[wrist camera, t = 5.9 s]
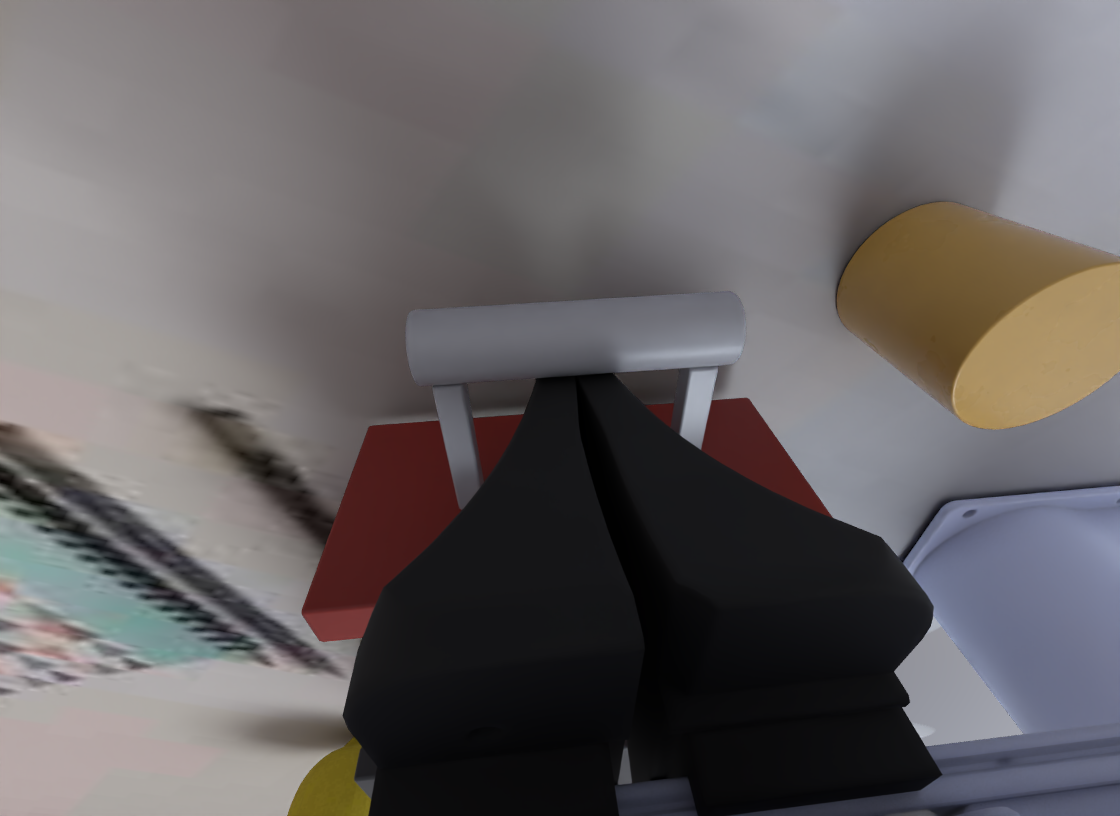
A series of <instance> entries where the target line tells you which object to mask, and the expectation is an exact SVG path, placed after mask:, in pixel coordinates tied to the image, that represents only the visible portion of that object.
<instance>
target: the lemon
mask: <svg viewBox="0 0 1120 816" xmlns="http://www.w3.org/2000/svg"><path fill="white" fill-rule="evenodd" d="M361 747H362V746H361V745H360V744H359V742H358V741H357V740H356V739H355V737H353V738H352V739H351V740H350V741H349V742H348V743H347V744H346V745H345V746H344V747H342V748H340V749H338V750H335V751H333V752H331V753H330V754H328V755H326V756H325V757H324V758H323V759H322V760H320V761H319V762H318V763H317V764H316V765H315V766H314V767H313V768H312V769H311V770H310V771H309V773H308V774H307V775H306V777H305V778H304V780H303V781H302V783H301V784H300V786H299V788H298V790H297V792H296V794H295V797H294V799H293V801H292V804H291V806H290V809H289V812H288V815H287V816H368V814H369V809H370V803H371V799H370V798H369V797H368V795H367V794H366V793H365V792H364V791H363V790H362V789H361V788H360V787H359V785H358V784H357V783H356V782H355V781H354V776H355V771H356V766H357V761H358V756H359V752H360V749H361Z"/></svg>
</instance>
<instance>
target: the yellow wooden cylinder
mask: <svg viewBox="0 0 1120 816" xmlns="http://www.w3.org/2000/svg"><path fill="white" fill-rule="evenodd" d="M837 309H838V314H839V317H840V319H841V321H842V323H843V324H844V326H845V327H846V328H847V329H848V330H849V331H851V332H852V333H853V334H854V335H856V336H857V337H858V338H859V339H861V340H862V341H863V342H864V343H865V344H867V345H868V346H869V347H870V348H872V349H873V350H874V351H875V352H877V353H878V354H879V355H880V356H882V357H883V358H884V359H885V360H887V361H888V362H889V363H890V364H892V365H893V366H894V367H895V368H897V369H898V370H899V371H900V372H902V373H903V374H904V375H905V376H907V377H908V378H909V379H910V380H911V381H913V382H914V383H915V384H916V385H918V386H919V387H920V388H921V389H923V390H924V391H925V392H926V393H928V394H929V395H930V396H931V397H933V398H934V399H935V400H936V401H938V402H939V403H940V404H941V405H943V406H944V407H945V408H946V409H948V410H949V411H950V412H951V413H952V414H954V415H955V416H956V417H957V418H959V419H960V420H961V421H963V422H964V423H966V424H968V425H971V426H973V427H977V428H982V429H1006V428H1013V427H1017V426H1022V425H1026V424H1029V423H1032V422H1036V421H1038V420H1041V419H1044V418H1046V417H1049V416H1051V415H1053V414H1055V413H1057V412H1060V411H1062V410H1064V409H1065V408H1067V407H1069V406H1071V405H1073V404H1075V403H1076V402H1078V401H1080V400H1081V399H1083V398H1085V397H1086V396H1088V395H1089V394H1091V393H1092V392H1094V391H1095V390H1097V389H1098V388H1099V387H1101V386H1102V385H1103V384H1105V383H1106V382H1107V381H1109V380H1110V379H1111V378H1112V377H1113V376H1114V375H1116V374H1117V373H1118V372H1119V371H1120V257H1119V256H1116V255H1113V254H1110V253H1107V252H1104V251H1101V250H1098V249H1095V248H1092V247H1089V246H1086V245H1083V244H1080V243H1077V242H1074V241H1071V240H1068V239H1065V238H1062V237H1059V236H1056V235H1053V234H1050V233H1047V232H1044V231H1041V230H1038V229H1035V228H1031V227H1028V226H1025V225H1022V224H1019V223H1016V222H1013V221H1010V220H1007V219H1004V218H1001V217H998V216H995V215H992V214H989V213H986V212H983V211H980V210H977V209H974V208H971V207H968V206H965V205H962V204H959V203H954V202H935V203H929V204H925V205H921V206H918V207H915V208H912V209H910V210H908V211H906V212H903V213H901V214H899V215H898V216H896V217H894V218H893V219H891V220H890V221H888V222H887V223H885V224H884V225H883V226H881V227H880V228H879V229H878V230H876V231H875V232H874V233H873V234H872V235H871V236H870V237H869V238H868V239H867V240H866V241H865V242H864V243H863V244H862V245H861V246H860V248H859V249H858V250H857V251H856V253H855V254H854V256H853V257H852V259H851V260H850V262H849V263H848V265H847V267H846V269H845V271H844V273H843V275H842V278H841V280H840V284H839V287H838V293H837Z"/></svg>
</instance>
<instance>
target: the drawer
mask: <svg viewBox="0 0 1120 816" xmlns="http://www.w3.org/2000/svg"><path fill="white" fill-rule="evenodd" d="M745 338H746V318H745V312H744V308H743V305H742V302H741V300H740V298H739V297H738V296H737V295H736V294H735V293H733V292H731V291H721V292H705V293H688V294H671V295H655V296H638V297H621V298H605V299H588V300H571V301H555V302H538V303H521V304H505V305H488V306H472V307H455V308H438V309H422V310H413V311H411V312H409V314H408V317H407V321H406V330H405V339H406V351H407V358H408V363H409V367H410V371H411V374H412V376H413V379H414V381H415V382H416V384H417V385H419V386H433V388H432V391H433V395H434V400H435V404H436V408H437V413H438V417H439V421H427V422H413V423H400V424H386V425H373V426H369V428H368V430H367V433H366V436H365V439H364V441H363V444H362V447H361V449H360V452H359V455H358V458H357V460H356V463H355V466H354V469H353V471H352V474H351V477H350V480H349V482H348V485H347V488H346V490H345V493H344V496H343V499H342V501H341V504H340V507H339V510H338V512H337V515H336V518H335V521H334V523H333V526H332V529H331V531H330V534H329V537H328V540H327V542H326V545H325V548H324V551H323V553H322V556H321V559H320V562H319V564H318V567H317V570H316V572H315V575H314V578H313V581H312V583H311V586H310V589H309V592H308V594H307V597H306V600H305V603H304V605H303V608H302V615H303V617H304V618H305V620H306V621H307V623H308V624H309V626H310V627H311V629H312V630H313V632H314V633H315V635H316V636H317V638H318V639H319V641H322V642H327V641H337V640H347V639H357V638H362V637H363V635H364V632H365V630H366V627H367V624H368V622H369V619H370V617H371V614H372V612H373V609H374V607H375V605H376V603H377V600H378V598H379V596H380V594H381V591H382V589H383V587H384V586H385V585H387V584H388V583H389V582H390V581H391V580H392V579H393V578H394V577H396V576H397V575H398V574H399V573H400V572H401V571H402V570H403V569H404V568H405V567H406V566H407V565H409V564H410V563H411V562H412V561H413V560H414V559H415V558H416V557H417V556H418V555H419V554H420V553H422V552H423V551H424V550H425V549H426V548H427V547H428V546H429V545H430V544H431V543H432V542H433V541H434V540H435V539H436V538H437V537H438V536H439V535H440V533H441V532H442V531H443V530H444V529H445V528H446V527H447V526H448V525H449V524H450V522H451V521H452V520H453V519H454V518H455V517H456V516H457V515H458V514H459V513H460V511H461V510H462V509H463V508H464V507H465V506H466V505H467V503H468V502H469V501H470V500H471V498H472V497H473V496H474V495H475V493H476V492H477V491H478V489H479V488H480V487H481V485H482V484H483V483H484V481H485V480H486V479H487V477H488V476H489V474H490V473H491V472H492V470H493V469H494V467H495V466H496V464H497V463H498V461H499V459H500V458H501V456H502V455H503V453H504V451H505V450H506V448H507V446H508V445H509V443H510V441H511V439H512V437H513V435H514V433H515V431H516V429H517V427H518V425H519V423H520V421H521V419H522V417H523V415H524V414H521V415H507V416H494V417H480V418H473V416H472V410H471V404H470V398H469V393H468V387H467V383H476V382H490V381H504V380H519V379H533V378H547V377H562V376H576V375H590V374H605V373H619V372H633V371H648V370H662V369H676V368H680V369H679V375H678V382H677V388H676V395H675V401H674V403H669V404H655V405H645V406H646V407H647V408H648V409H649V410H650V411H651V412H652V413H653V414H655V415H656V416H657V417H658V418H659V419H660V420H662V421H663V422H664V423H665V424H666V425H668V426H669V427H670V428H671V429H672V430H674V431H675V432H676V433H678V434H679V435H680V436H682V437H683V438H685V439H686V440H687V441H689V442H690V443H692V444H693V445H695V446H696V447H697V448H699V449H700V450H702V451H703V452H705V453H706V454H708V455H709V456H711V457H712V458H714V459H716V460H717V461H719V462H720V463H722V464H724V465H726V466H727V467H729V468H731V469H733V470H734V471H736V472H738V473H740V474H741V475H743V476H745V477H746V478H748V479H750V480H752V481H754V482H756V483H758V484H760V485H762V486H763V487H765V488H767V489H769V490H771V491H773V492H775V493H777V494H780V495H782V496H784V497H786V498H788V499H790V500H792V501H794V502H797V503H799V504H801V505H803V506H805V507H807V508H810V509H812V510H814V511H816V512H819V513H821V514H824V515H827V516H829V517H832V516H831V514H830V513H829V512H828V510H827V509H826V507H825V506H824V505H823V503H822V502H821V500H820V499H819V497H818V496H817V495H816V493H815V492H814V490H813V489H812V488H811V486H810V485H809V483H808V482H807V480H806V479H805V478H804V476H803V475H802V473H801V472H800V471H799V469H798V468H797V466H796V465H795V463H794V462H793V461H792V459H791V458H790V456H789V455H788V454H787V452H786V451H785V449H784V448H783V446H782V445H781V444H780V442H779V441H778V439H777V438H776V437H775V435H774V434H773V432H772V431H771V429H770V428H769V427H768V425H767V424H766V422H765V421H764V420H763V418H762V417H761V415H760V414H759V412H758V411H757V410H756V408H755V407H754V405H753V404H752V402H751V401H750V400H749V399H748V398H736V399H722V400H712V396H713V391H714V387H715V382H716V377H717V373H718V367H717V366H719V365H731V364H733V363H735V362H736V361H737V360H738V359H739V357H740V356H741V354H742V351H743V348H744V344H745ZM832 518H833V517H832Z"/></svg>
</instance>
